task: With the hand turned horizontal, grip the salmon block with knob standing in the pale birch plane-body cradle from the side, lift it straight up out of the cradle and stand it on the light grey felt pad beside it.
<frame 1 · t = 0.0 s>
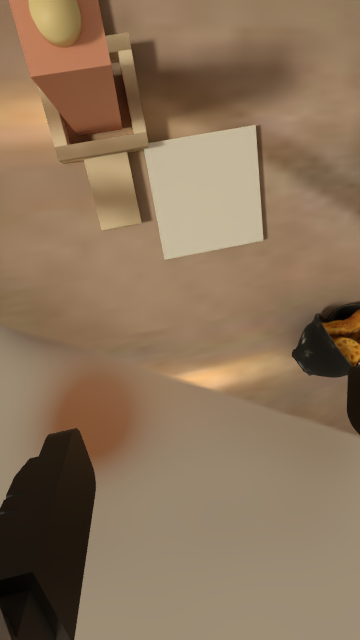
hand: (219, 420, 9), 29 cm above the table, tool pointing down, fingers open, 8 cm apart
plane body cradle: (94, 106, 30), on the table
felt pad: (206, 196, 34), on the table
fried shrimp in bowl: (342, 319, 43), on the table
salmon block with knob: (80, 73, 23), in the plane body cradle
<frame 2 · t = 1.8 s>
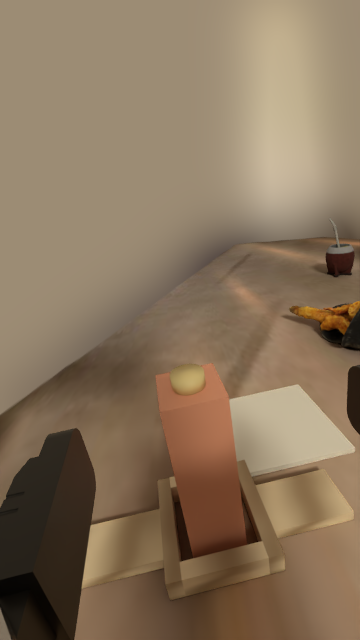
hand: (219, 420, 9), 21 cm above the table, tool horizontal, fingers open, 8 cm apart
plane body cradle: (214, 527, 27), on the table
felt pad: (275, 426, 37), on the table
fried shrimp in bowl: (337, 339, 54), on the table
mate gourd: (337, 274, 87), on the table
salmon block with knob: (202, 459, 24), in the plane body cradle
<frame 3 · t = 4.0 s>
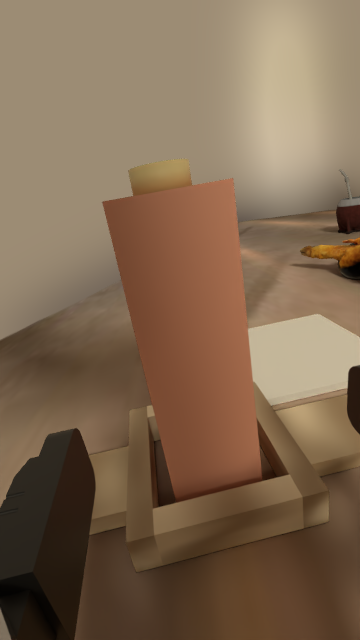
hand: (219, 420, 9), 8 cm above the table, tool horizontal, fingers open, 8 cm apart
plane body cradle: (211, 467, 18), on the table
felt pad: (292, 354, 28), on the table
mate gourd: (349, 232, 78), on the table
salmon block with knob: (190, 346, 15), in the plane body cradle
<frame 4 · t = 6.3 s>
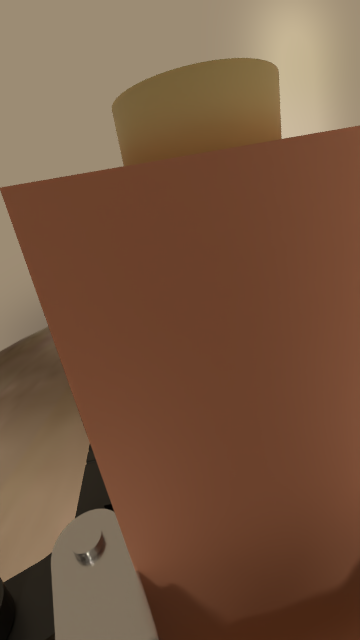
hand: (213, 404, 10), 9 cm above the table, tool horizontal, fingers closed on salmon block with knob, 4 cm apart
salmon block with knob: (243, 488, 7), in the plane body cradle, touching gripper
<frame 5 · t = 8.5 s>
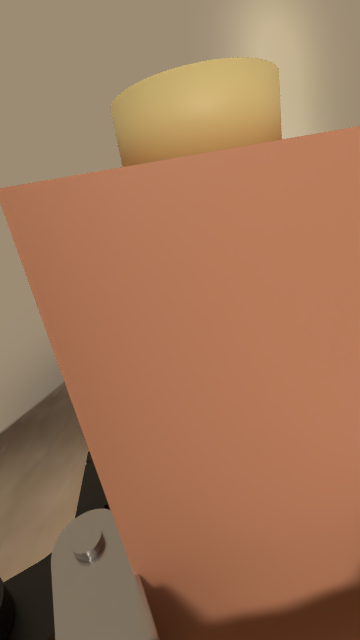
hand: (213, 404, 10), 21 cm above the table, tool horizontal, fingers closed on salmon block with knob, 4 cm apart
salmon block with knob: (243, 490, 7), point 20 cm above the table, touching gripper
when the fingers open (10 cm above the table, at t = 11.1 s): salmon block with knob drops 1 cm, resting on felt pad.
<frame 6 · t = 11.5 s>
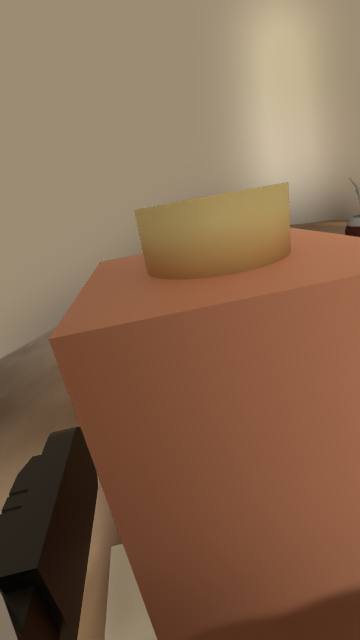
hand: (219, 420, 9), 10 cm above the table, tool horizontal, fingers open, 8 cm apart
salmon block with knob: (250, 531, 8), on the felt pad, point 9 cm above the table
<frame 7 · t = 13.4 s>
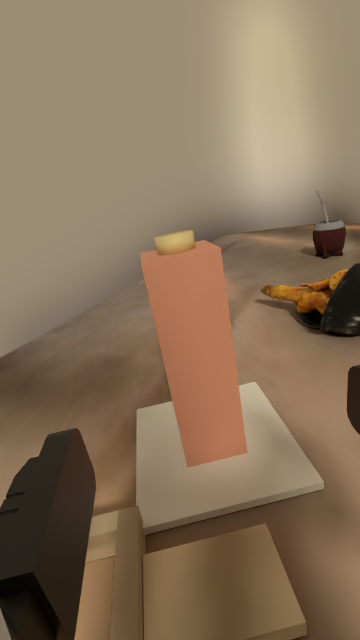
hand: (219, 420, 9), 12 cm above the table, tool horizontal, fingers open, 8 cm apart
felt pad: (211, 443, 25), on the table
fried shrimp in bowl: (319, 324, 42), on the table
mate gourd: (327, 256, 75), on the table
salmon block with knob: (194, 349, 21), on the felt pad, point 9 cm above the table
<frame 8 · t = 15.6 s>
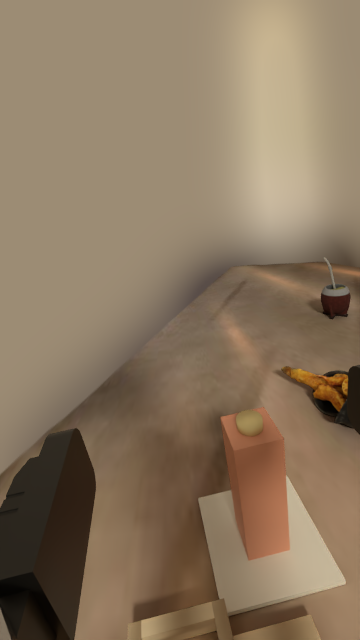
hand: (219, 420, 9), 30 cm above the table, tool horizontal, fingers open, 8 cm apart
felt pad: (260, 536, 34), on the table
fried shrimp in bowl: (331, 408, 51), on the table
mate gourd: (333, 314, 84), on the table
salmon block with knob: (255, 481, 31), on the felt pad, point 9 cm above the table
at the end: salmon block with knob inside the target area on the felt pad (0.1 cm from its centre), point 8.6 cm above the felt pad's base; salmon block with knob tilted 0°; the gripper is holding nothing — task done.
